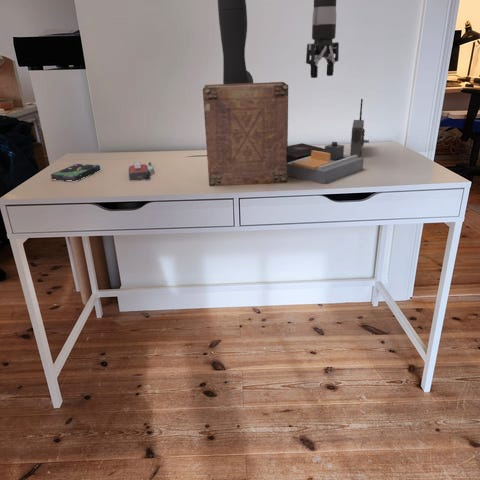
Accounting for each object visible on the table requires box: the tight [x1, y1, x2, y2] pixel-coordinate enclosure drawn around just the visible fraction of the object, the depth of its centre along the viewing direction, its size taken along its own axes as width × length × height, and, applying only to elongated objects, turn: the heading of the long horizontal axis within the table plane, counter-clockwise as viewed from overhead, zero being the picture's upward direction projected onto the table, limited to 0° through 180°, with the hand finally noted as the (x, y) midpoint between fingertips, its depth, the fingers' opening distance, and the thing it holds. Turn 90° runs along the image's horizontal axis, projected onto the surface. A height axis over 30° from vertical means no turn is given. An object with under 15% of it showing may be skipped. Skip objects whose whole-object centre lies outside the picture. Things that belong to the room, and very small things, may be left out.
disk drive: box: [50, 163, 101, 181], centre depth 158 cm, size 10×3×15 cm
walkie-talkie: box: [128, 161, 155, 181], centre depth 157 cm, size 9×4×20 cm
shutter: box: [293, 150, 331, 170], centre depth 144 cm, size 9×10×3 cm
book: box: [202, 81, 289, 187], centre depth 139 cm, size 25×9×30 cm, turn 91°
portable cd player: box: [287, 143, 325, 163], centre depth 168 cm, size 16×17×4 cm
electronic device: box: [349, 98, 370, 158], centre depth 170 cm, size 17×7×20 cm, turn 165°
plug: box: [324, 141, 345, 161], centre depth 151 cm, size 5×5×8 cm
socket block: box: [287, 154, 364, 185], centre depth 150 cm, size 16×22×5 cm
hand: (321, 76), depth 148 cm, fingers open, 8 cm apart
